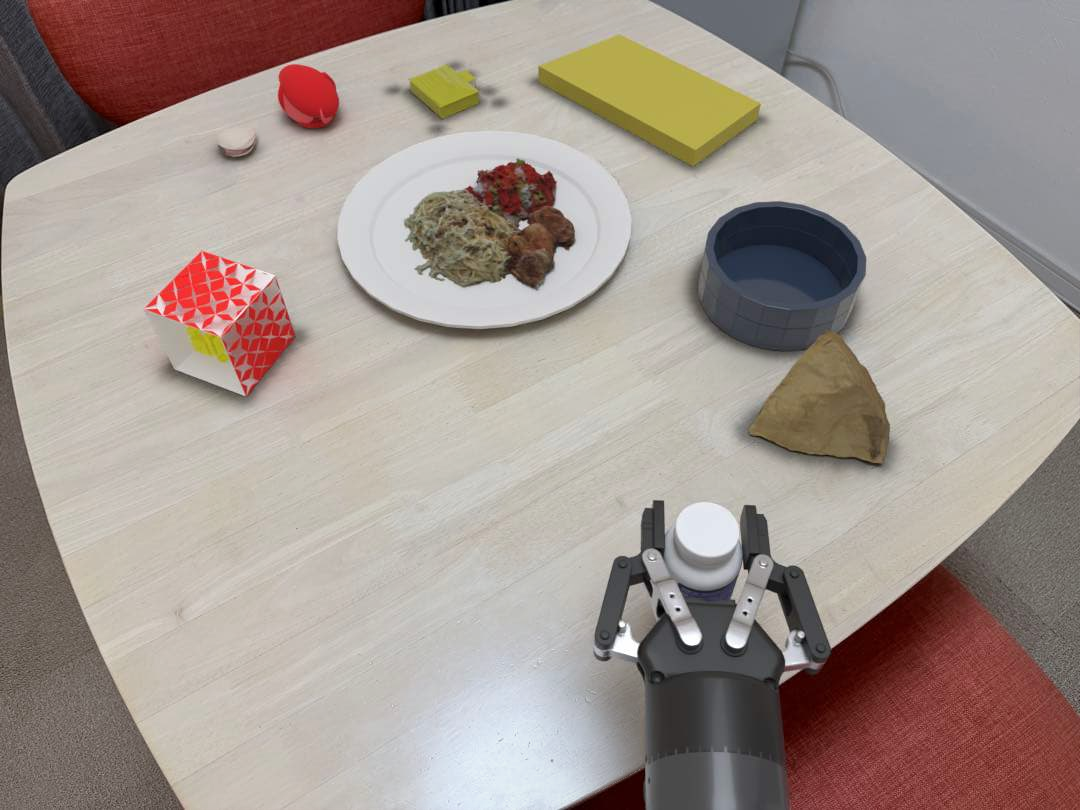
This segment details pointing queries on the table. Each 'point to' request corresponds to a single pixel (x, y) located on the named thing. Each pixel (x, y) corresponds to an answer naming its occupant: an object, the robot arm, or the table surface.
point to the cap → (307, 95)
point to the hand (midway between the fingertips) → (701, 509)
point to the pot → (780, 274)
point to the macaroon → (236, 140)
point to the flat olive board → (651, 97)
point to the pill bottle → (704, 551)
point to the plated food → (484, 229)
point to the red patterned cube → (222, 322)
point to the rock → (826, 406)
